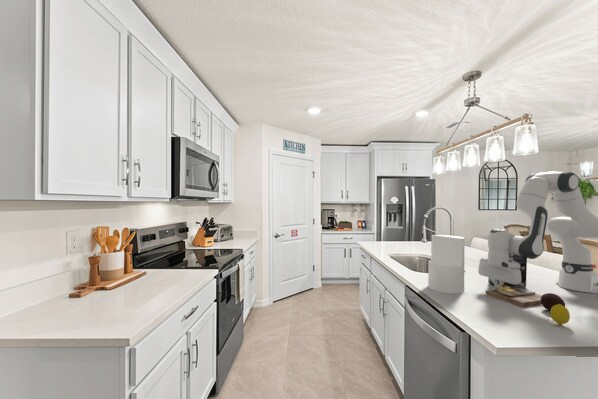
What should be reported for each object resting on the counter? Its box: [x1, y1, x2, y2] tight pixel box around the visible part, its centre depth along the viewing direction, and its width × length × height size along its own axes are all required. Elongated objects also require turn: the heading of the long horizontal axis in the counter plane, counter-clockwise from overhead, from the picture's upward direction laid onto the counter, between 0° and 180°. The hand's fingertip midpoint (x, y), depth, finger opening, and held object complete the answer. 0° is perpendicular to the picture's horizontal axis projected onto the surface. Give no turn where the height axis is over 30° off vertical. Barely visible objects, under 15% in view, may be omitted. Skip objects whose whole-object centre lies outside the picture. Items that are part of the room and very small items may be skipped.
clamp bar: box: [504, 289, 536, 296], centre depth 139 cm, size 16×3×1 cm, turn 106°
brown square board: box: [485, 287, 543, 308], centre depth 139 cm, size 20×18×2 cm
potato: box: [541, 292, 566, 312], centre depth 123 cm, size 8×9×8 cm
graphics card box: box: [487, 253, 528, 288], centre depth 160 cm, size 17×7×27 cm, turn 84°
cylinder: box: [427, 234, 466, 295], centre depth 154 cm, size 17×17×28 cm
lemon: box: [549, 304, 571, 326], centre depth 109 cm, size 6×6×8 cm
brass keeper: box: [498, 285, 516, 294], centre depth 139 cm, size 4×6×3 cm, turn 16°
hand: (498, 288), depth 143 cm, fingers closed
